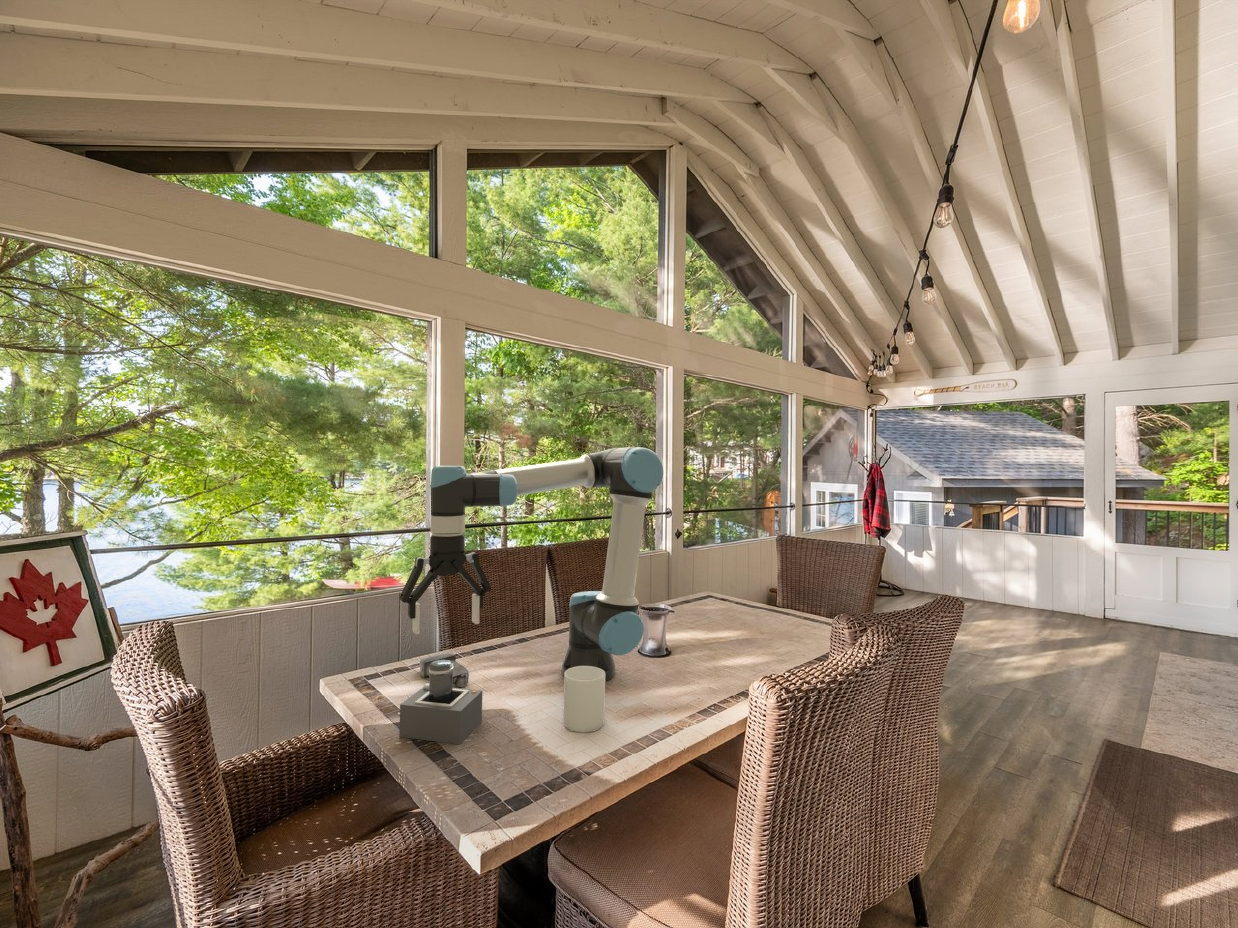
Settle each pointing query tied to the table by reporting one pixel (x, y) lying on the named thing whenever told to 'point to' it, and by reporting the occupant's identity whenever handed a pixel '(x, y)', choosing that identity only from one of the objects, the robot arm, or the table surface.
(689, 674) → the table surface
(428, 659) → the handheld device
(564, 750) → the table surface
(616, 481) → the robot arm
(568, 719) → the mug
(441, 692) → the lens
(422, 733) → the grey planter box
